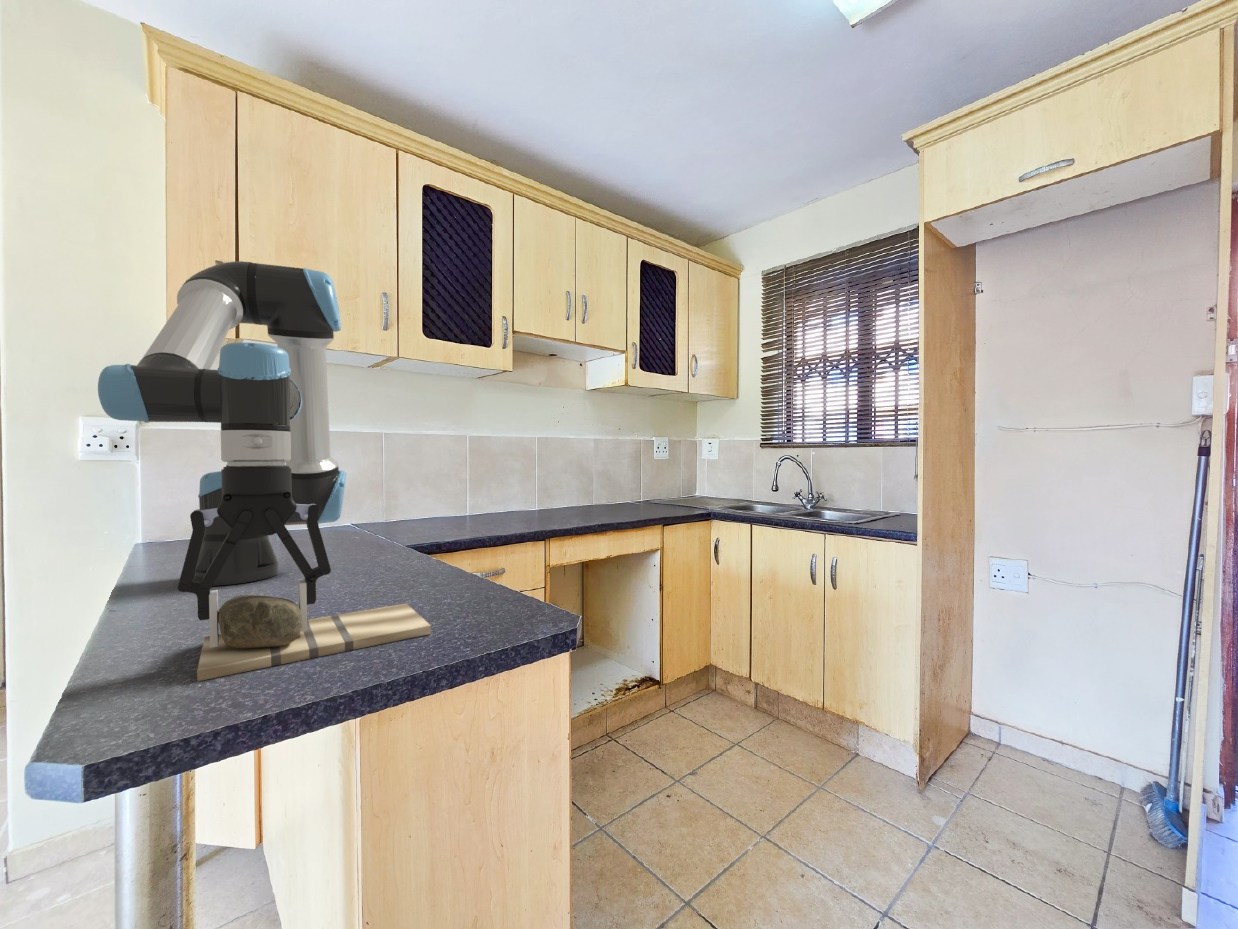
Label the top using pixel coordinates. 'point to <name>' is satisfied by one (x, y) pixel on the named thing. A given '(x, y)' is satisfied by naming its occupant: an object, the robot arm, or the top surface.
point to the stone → (259, 621)
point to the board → (317, 640)
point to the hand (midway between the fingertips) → (260, 636)
